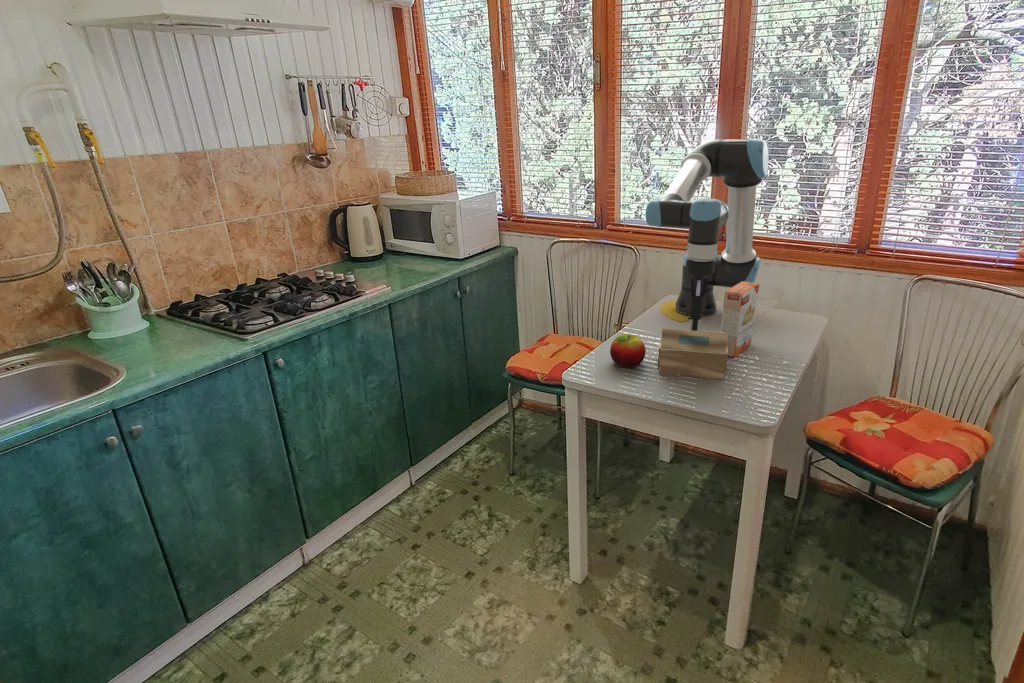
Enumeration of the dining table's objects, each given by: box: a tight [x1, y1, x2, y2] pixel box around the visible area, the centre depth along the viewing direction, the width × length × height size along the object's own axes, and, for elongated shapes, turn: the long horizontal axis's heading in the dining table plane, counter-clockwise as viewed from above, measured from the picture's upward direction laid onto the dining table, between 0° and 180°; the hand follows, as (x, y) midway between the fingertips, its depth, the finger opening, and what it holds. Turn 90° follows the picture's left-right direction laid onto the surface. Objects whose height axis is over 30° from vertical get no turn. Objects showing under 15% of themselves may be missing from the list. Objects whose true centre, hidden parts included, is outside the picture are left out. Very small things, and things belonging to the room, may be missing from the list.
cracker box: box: [719, 281, 760, 358], centre depth 179 cm, size 14×6×21 cm, turn 138°
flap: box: [661, 327, 728, 353], centre depth 160 cm, size 7×18×1 cm
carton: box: [657, 336, 729, 381], centre depth 170 cm, size 14×19×8 cm
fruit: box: [609, 333, 647, 369], centre depth 174 cm, size 11×11×10 cm
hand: (693, 339), depth 161 cm, fingers closed
